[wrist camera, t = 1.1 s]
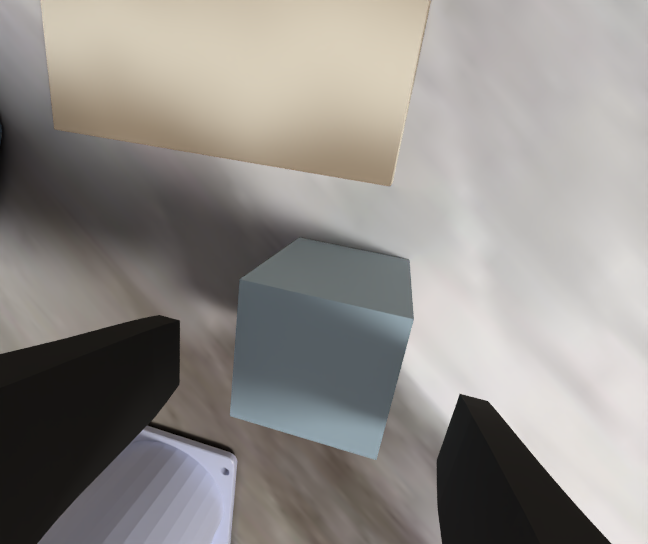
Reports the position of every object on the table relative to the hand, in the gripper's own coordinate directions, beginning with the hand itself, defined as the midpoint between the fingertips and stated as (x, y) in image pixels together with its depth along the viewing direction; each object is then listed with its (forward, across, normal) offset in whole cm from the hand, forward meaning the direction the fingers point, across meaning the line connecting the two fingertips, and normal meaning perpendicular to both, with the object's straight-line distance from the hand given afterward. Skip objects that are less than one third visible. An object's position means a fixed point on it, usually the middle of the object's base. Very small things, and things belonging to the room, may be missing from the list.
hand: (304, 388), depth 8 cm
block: (+6, 0, 0) cm, 6 cm away
